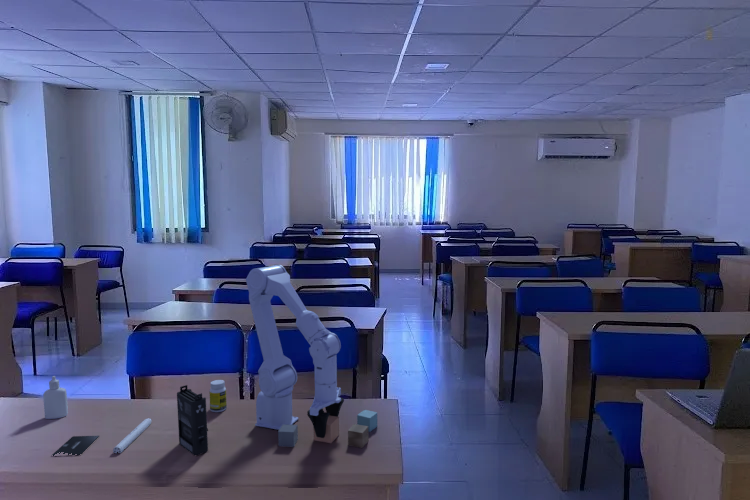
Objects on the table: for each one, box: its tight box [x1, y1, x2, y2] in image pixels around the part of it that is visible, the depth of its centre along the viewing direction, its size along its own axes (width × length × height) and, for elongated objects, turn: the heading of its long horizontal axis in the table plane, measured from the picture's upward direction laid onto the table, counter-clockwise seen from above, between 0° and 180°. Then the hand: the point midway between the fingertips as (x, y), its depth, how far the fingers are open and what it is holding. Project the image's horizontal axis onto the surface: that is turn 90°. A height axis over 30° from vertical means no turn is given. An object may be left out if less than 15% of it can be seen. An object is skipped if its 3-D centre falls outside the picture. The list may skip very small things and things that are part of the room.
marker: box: [112, 417, 152, 454], centre depth 136 cm, size 18×2×2 cm, turn 178°
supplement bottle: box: [209, 379, 227, 413], centre depth 153 cm, size 5×5×8 cm
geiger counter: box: [176, 384, 209, 457], centre depth 130 cm, size 10×4×15 cm, turn 45°
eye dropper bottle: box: [42, 375, 69, 420], centre depth 149 cm, size 4×6×12 cm
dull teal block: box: [356, 409, 378, 433], centre depth 141 cm, size 4×4×4 cm
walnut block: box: [347, 423, 369, 449], centre depth 132 cm, size 4×4×4 cm
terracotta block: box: [312, 415, 340, 444], centre depth 135 cm, size 5×5×5 cm
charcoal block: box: [277, 424, 299, 448], centre depth 133 cm, size 4×4×4 cm
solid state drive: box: [51, 435, 100, 456], centre depth 132 cm, size 7×10×1 cm
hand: (326, 431), depth 136 cm, fingers open, 6 cm apart
